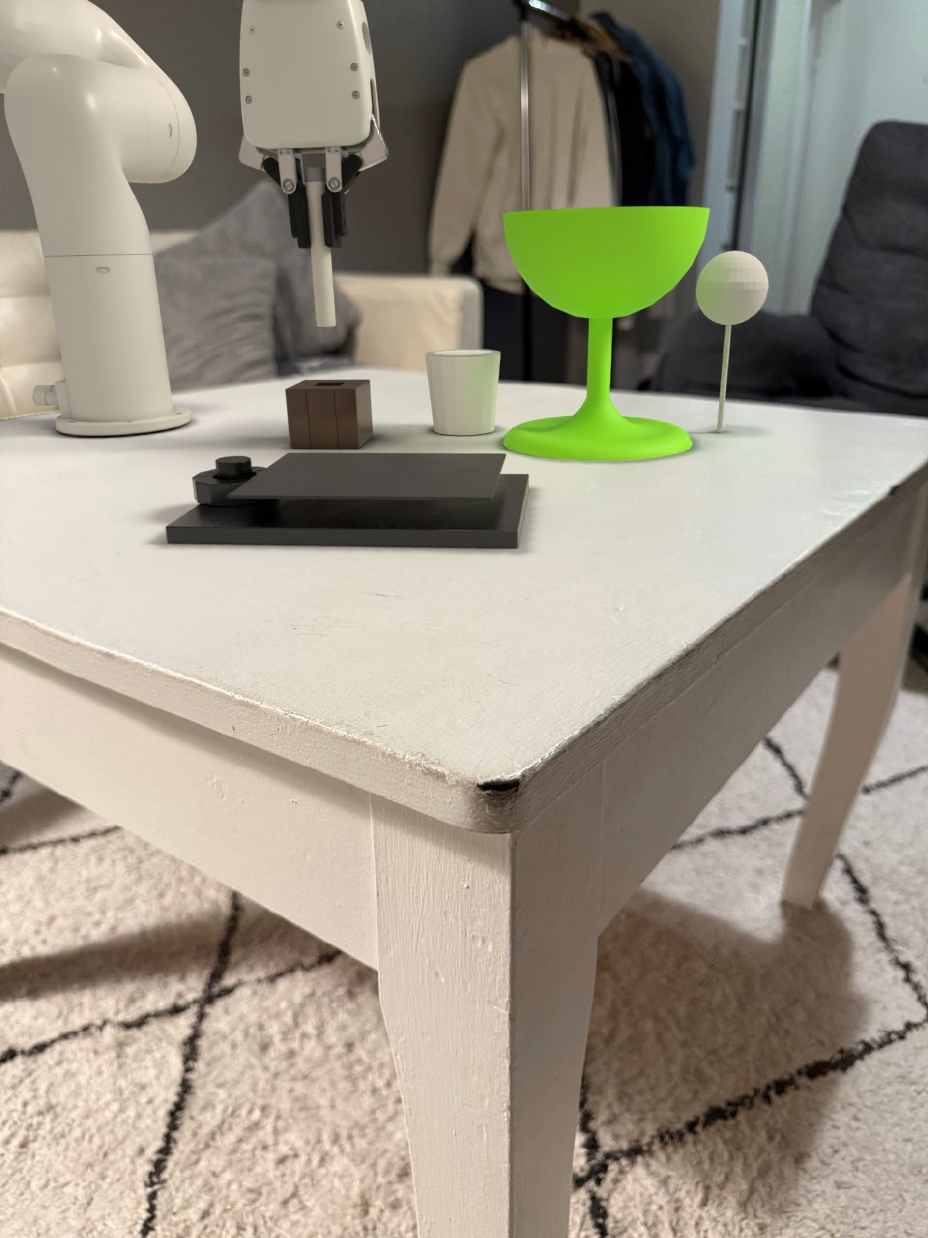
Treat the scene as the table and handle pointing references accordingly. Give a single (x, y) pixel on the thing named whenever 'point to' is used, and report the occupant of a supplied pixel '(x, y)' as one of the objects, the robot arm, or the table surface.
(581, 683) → the table surface
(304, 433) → the pen stand
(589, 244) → the wineglass
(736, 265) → the lollipop
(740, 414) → the table surface
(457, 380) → the shot glass
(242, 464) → the button
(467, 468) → the screen
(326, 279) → the stylus
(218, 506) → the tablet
